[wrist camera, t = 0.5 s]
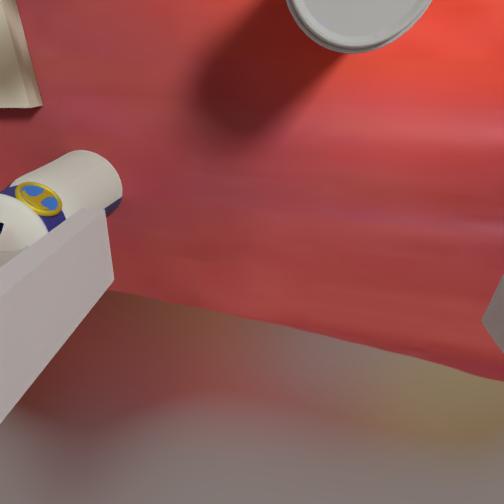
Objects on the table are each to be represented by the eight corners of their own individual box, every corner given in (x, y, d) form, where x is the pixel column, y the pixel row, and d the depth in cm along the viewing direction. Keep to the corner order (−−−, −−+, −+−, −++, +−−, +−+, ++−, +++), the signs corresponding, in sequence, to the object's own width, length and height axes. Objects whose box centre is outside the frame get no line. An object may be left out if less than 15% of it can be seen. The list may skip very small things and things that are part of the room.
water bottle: (71, 126, 38) (-227, 220, 16) (138, 182, 40) (-45, 330, 18) (37, 182, 42) (-248, 322, 20) (101, 230, 44) (-92, 405, 22)
